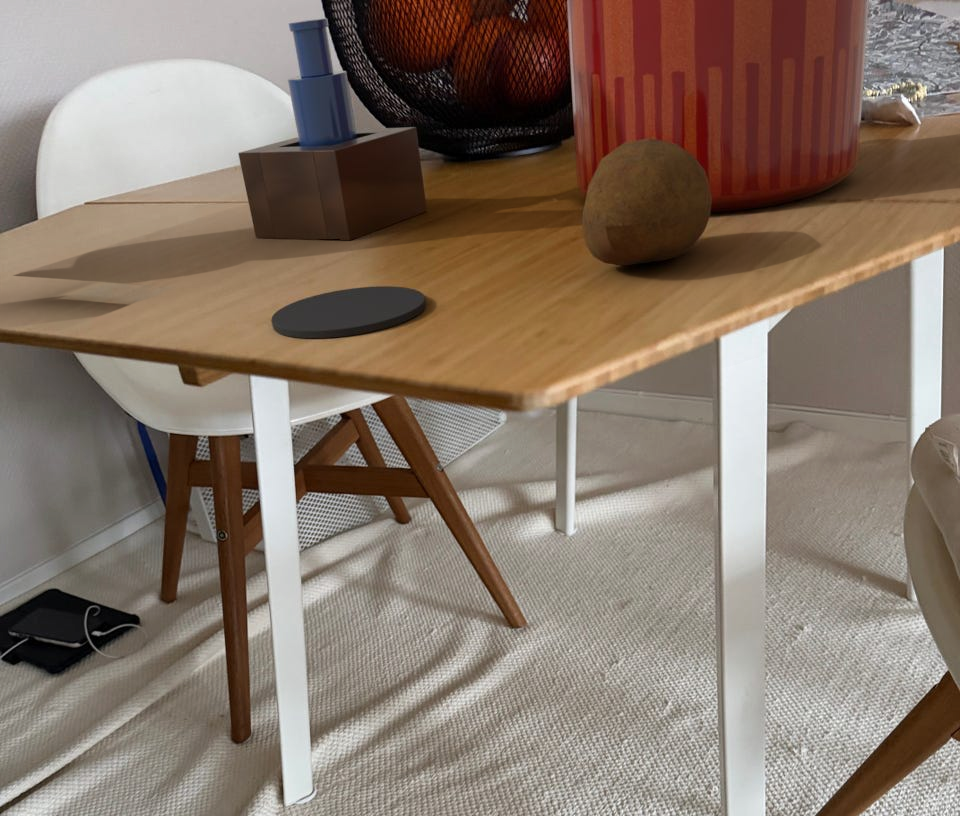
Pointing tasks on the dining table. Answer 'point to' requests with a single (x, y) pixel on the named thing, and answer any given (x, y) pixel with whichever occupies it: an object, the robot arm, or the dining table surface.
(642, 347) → the dining table surface
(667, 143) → the potato
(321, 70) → the bottle
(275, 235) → the holder
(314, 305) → the coaster
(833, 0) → the planter
